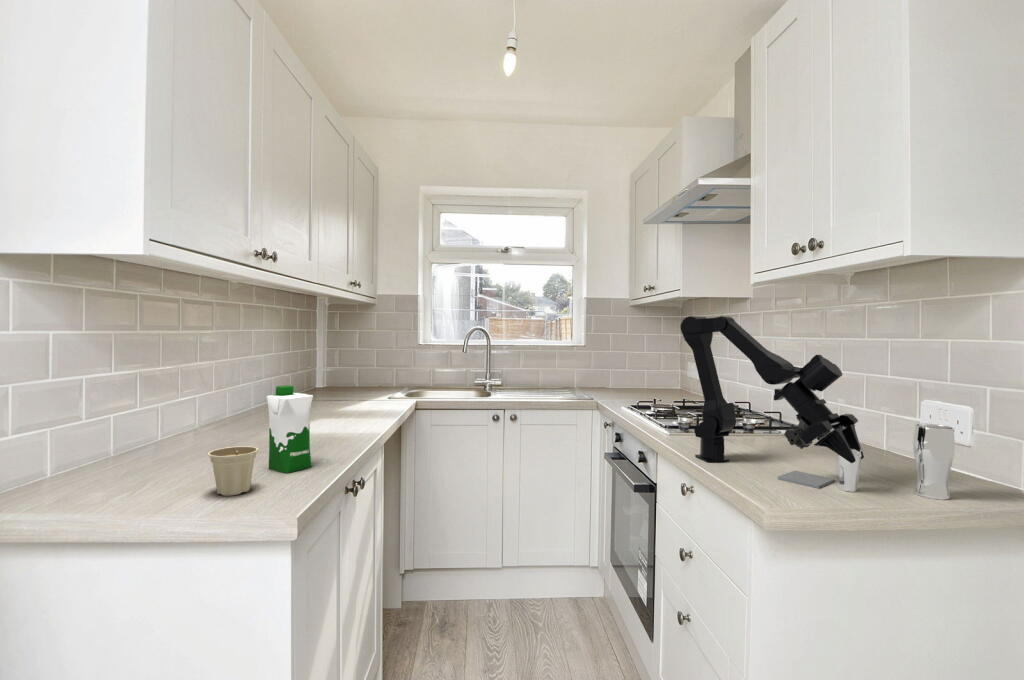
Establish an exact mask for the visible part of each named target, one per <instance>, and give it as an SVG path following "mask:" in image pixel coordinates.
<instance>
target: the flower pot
mask: <svg viewBox="0 0 1024 680" xmlns="http://www.w3.org/2000/svg"><path fill="white" fill-rule="evenodd" d="M258 451H259V448H258V447H257V446H256V447H255V446H249V445H244V446H243V445H242V446H241V445H238V446H229V447H223V448H222V447H221V448H216V449H213V450H210V451H208V453H207V456H208V457H210V462H211V464H212V468H213V474H214V481H215V487H216V493H217V494H218V495H221V496H225V497H226V496H237V495H240V494H241V493H247V492H249V491H250V490H251V485H252V484H251V483H252V477H253V471H254V470H253V469H254V464H255V463H254V462H255V459H256V456H257V452H258Z"/></svg>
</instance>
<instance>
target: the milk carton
mask: <svg viewBox="0 0 1024 680" xmlns="http://www.w3.org/2000/svg"><path fill="white" fill-rule="evenodd" d="M313 398H314V395H312V394H307V393H299V392H294V385H277V386H276V387H275V394H271V395H267V396H266V402H267V409H268V416H269V417H268V420H269V421H268V424H269V427H268V430H269V431H268V432H269V434H268V435H269V437H268V439H269V440H268V441H269V442H268V445H269V446H268V447H269V448H268V450H269V452H268V470H271V471H276V472H279V473H284V474H290V473H295V472H297V471H302V470H305V469H309V468H312V458H311V445H310V444H311V441H310V439H311V437H310V435H311V434H310V432H311V431H310V429H311V428H310V427H311V426H310V424H311V423H310V422H311V421H310V420H311V418H310V417H311V416H310V415H311V412H310V411H311V406H312V403H313Z"/></svg>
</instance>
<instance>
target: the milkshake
mask: <svg viewBox="0 0 1024 680" xmlns="http://www.w3.org/2000/svg"><path fill="white" fill-rule="evenodd" d="M863 449H864V448H863V447H861V449H860V452H858V451H857V450H855V449H851V451H852V453H853V455H854V457H855V459H856V461H855V462H854V463H850V462H849V461H847V460H846V459H844V458H843V457H841V456H840V455H838V454H837V453H836V455H837V468H838V469H837V470H838V485H839V489H840V490H842V491H844V492H852V493H854V492H857V491H858V486H859V485H858V484H859V476H860V475H859V474H860V468H861V467H860V466H861V460H862V459H861V451H862V450H863ZM862 452H863V451H862Z"/></svg>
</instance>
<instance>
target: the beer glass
mask: <svg viewBox="0 0 1024 680" xmlns="http://www.w3.org/2000/svg"><path fill="white" fill-rule="evenodd" d="M914 425H915V427H914V432H913V433H914V434H913V443H912V444H913V454H914V455H913V457H914V462H915V468H916V473H917V474H916V475H917V477H916V482H915V483H916V484H915V487H914V494H915V495H917V496H919V497H923V498H927V499H932V500H941V501H942V500H943V501H945V500H946V501H947V500H950V498H951V494H950V488H949V477H950V473H951V470H952V466H953V462H954V458H955V457H954V456H955V447H956V445H955V441H956V440H955V428H954V427H952V426H950V425H942V424H935V423H934V424H933V423H916V424H914Z"/></svg>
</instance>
